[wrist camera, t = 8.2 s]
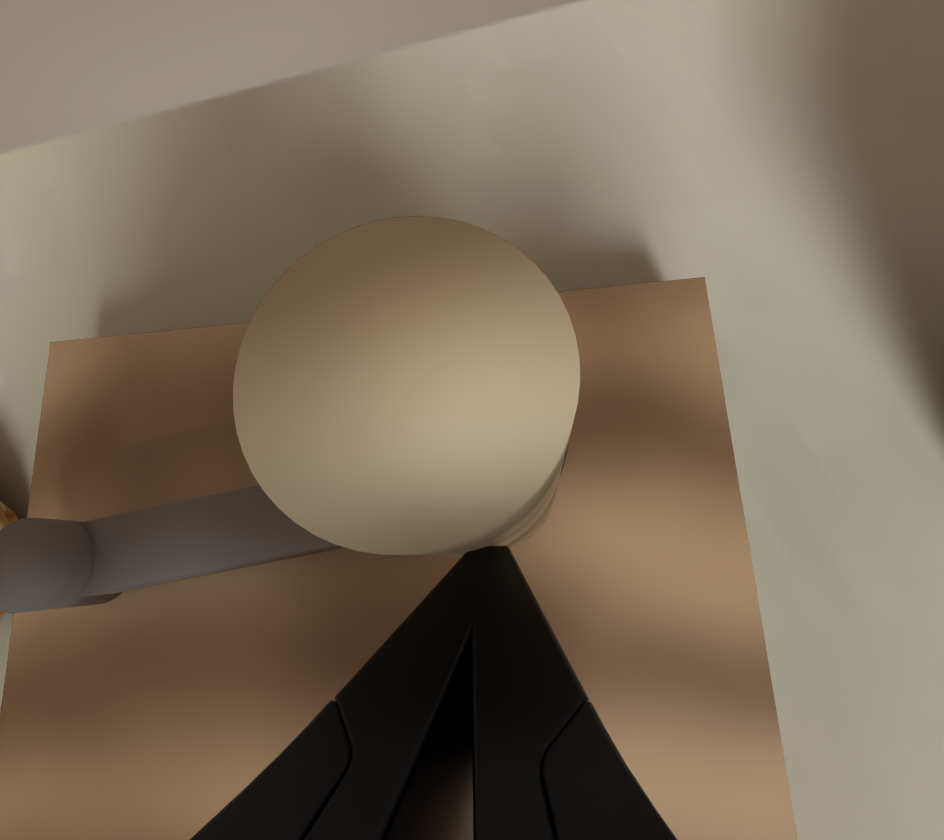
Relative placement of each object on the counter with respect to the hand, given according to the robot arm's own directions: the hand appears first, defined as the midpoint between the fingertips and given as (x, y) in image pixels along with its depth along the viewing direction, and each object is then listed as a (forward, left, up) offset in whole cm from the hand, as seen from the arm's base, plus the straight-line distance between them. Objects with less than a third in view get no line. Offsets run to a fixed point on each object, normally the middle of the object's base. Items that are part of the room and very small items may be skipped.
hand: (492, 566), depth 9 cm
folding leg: (+6, +2, -7) cm, 10 cm away
